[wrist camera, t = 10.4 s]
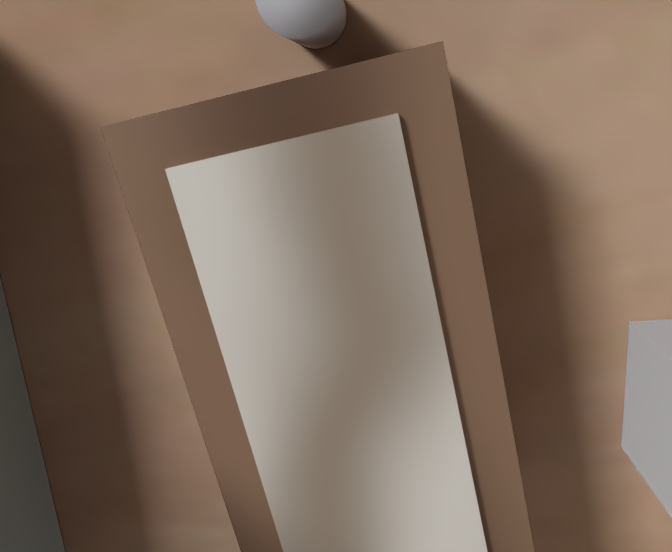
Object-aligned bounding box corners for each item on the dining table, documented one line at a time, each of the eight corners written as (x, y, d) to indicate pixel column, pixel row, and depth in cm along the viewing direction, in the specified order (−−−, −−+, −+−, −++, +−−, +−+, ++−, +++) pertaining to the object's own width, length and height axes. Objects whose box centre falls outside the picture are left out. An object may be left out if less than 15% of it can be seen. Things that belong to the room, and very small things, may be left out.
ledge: (16, 581, 22) (-80, 717, 18) (-140, -7, 17) (-340, -40, 12) (383, 573, 22) (386, 714, 17) (342, -52, 16) (329, -106, 11)
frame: (290, 507, 21) (265, 637, 16) (173, 114, 18) (96, 127, 13) (502, 471, 21) (543, 596, 16) (422, 52, 17) (444, 40, 12)
